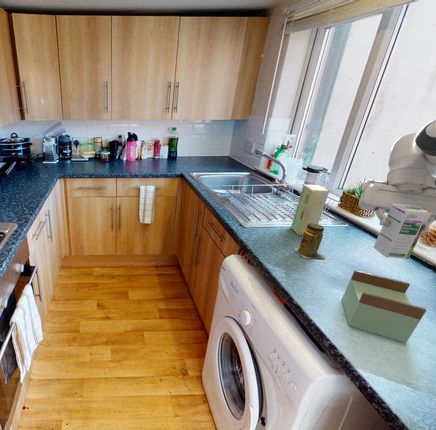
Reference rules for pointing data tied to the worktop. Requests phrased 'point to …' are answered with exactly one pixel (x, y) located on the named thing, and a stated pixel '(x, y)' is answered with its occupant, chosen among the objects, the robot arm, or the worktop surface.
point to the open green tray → (380, 306)
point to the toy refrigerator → (309, 207)
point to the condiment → (311, 241)
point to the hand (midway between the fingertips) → (403, 228)
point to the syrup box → (402, 230)
